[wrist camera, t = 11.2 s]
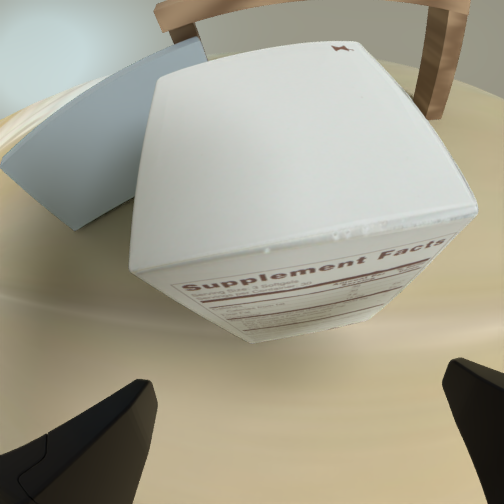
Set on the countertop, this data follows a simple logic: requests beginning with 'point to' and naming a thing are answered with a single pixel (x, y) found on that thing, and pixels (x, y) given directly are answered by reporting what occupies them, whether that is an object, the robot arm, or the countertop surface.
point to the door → (95, 140)
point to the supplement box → (290, 190)
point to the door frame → (440, 3)
